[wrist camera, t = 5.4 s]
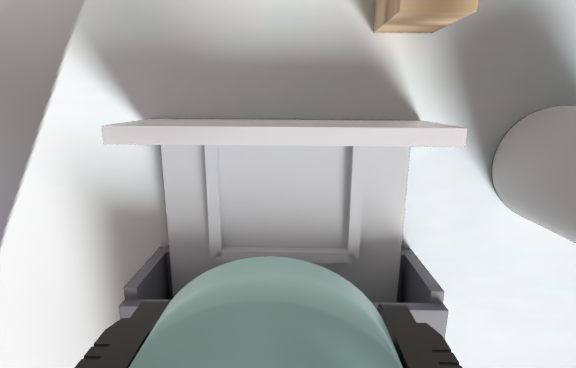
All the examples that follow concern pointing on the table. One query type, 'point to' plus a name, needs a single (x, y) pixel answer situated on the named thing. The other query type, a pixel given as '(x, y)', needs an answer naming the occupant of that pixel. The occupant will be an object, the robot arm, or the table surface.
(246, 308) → the pale green round part
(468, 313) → the table surface
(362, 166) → the tray
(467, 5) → the wooden block
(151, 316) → the robot arm
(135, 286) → the box
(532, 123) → the mug
